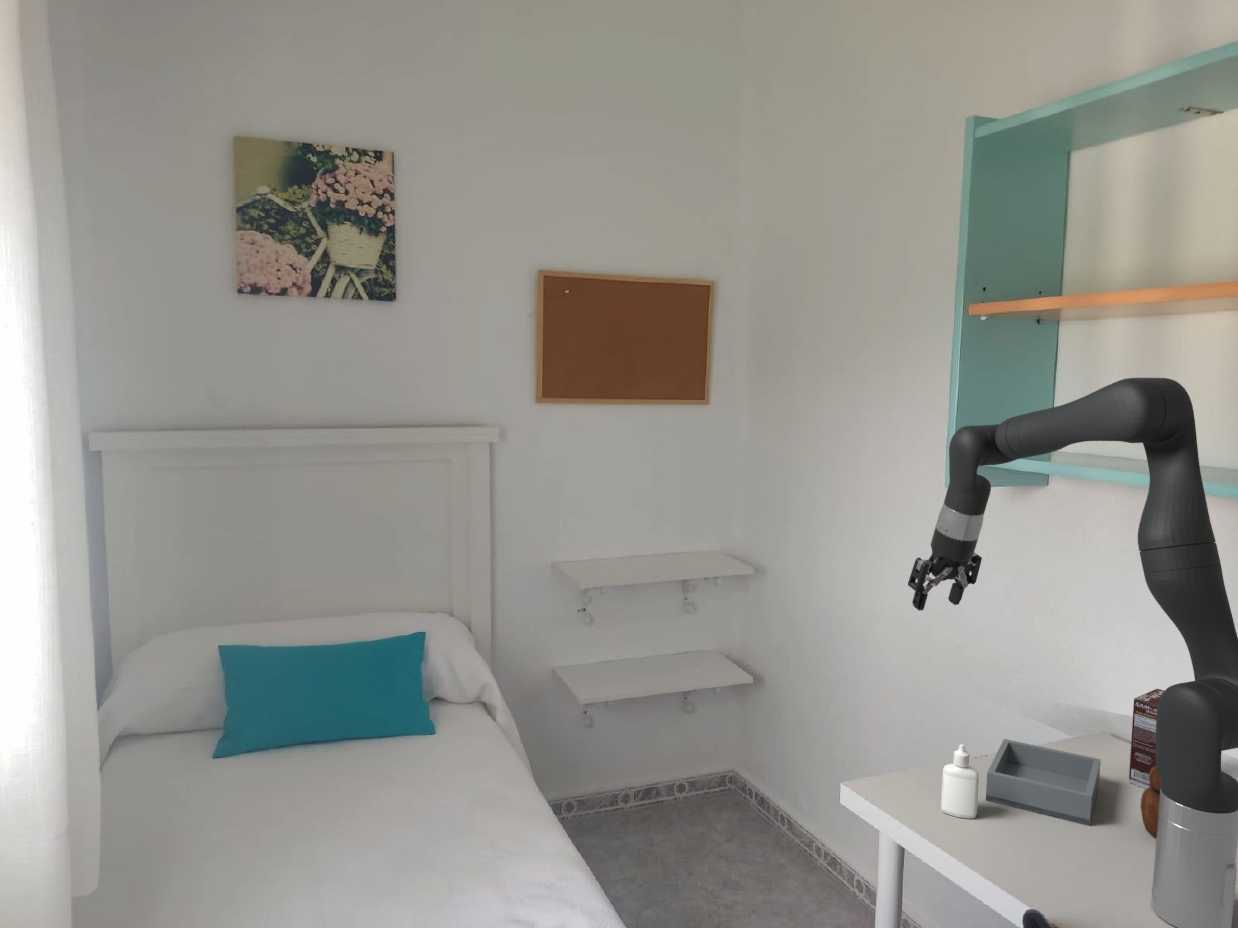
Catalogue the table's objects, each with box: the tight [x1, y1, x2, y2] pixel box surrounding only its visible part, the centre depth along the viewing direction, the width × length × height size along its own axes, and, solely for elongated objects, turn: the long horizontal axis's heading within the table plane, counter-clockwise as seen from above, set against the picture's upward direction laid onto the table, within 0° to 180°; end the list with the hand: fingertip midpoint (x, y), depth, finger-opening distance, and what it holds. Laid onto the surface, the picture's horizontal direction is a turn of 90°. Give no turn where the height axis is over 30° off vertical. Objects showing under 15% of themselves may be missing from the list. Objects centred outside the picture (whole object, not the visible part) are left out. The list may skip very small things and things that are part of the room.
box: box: [985, 738, 1102, 827], centre depth 159 cm, size 16×16×5 cm
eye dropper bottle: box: [940, 743, 979, 820], centre depth 152 cm, size 4×6×12 cm
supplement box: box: [1128, 688, 1165, 790], centre depth 163 cm, size 9×5×16 cm, turn 124°
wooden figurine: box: [1140, 765, 1161, 839], centre depth 145 cm, size 7×6×15 cm
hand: (935, 605), depth 171 cm, fingers open, 8 cm apart
